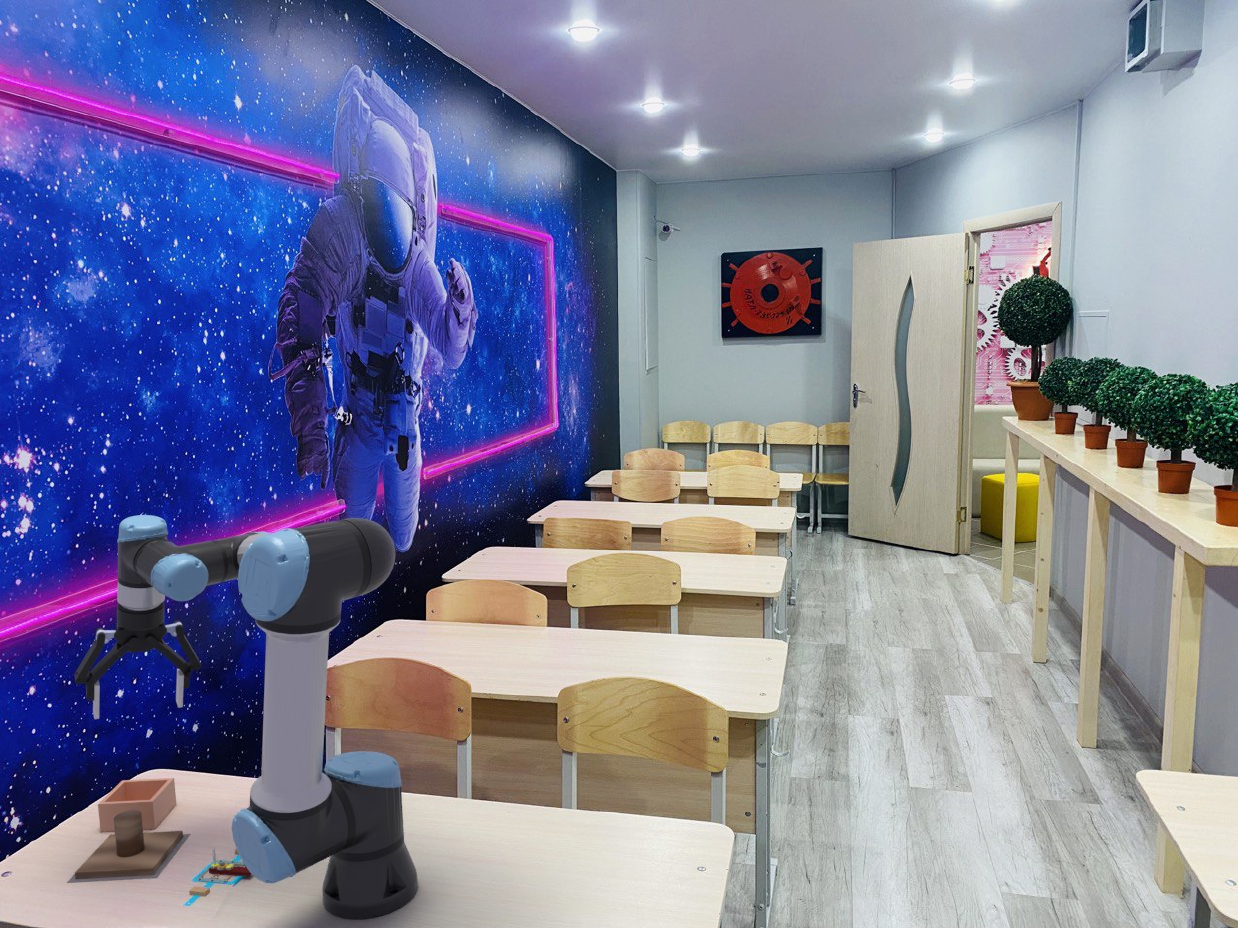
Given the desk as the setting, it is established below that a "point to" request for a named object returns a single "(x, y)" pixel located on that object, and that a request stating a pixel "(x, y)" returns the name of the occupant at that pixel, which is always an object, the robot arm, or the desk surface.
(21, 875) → the desk surface
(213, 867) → the gear mechanism
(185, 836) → the rubber mat
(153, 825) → the square bowl
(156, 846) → the walnut lid
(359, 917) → the robot arm
